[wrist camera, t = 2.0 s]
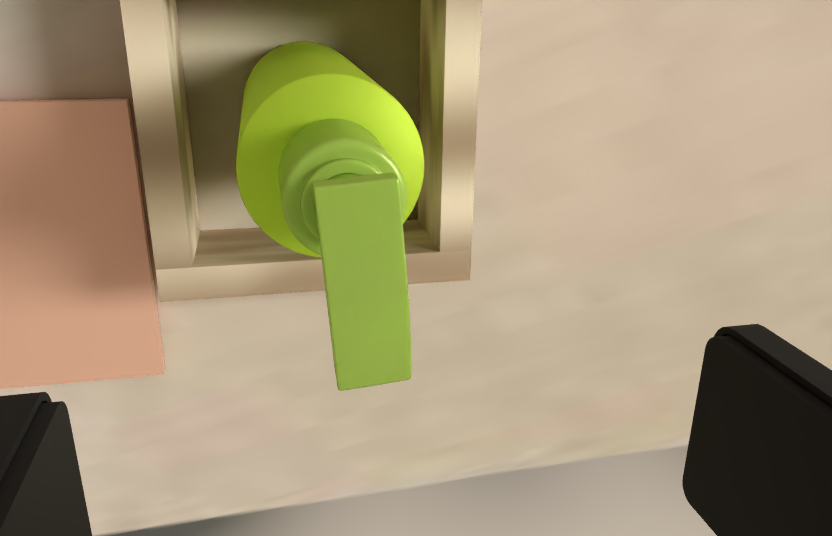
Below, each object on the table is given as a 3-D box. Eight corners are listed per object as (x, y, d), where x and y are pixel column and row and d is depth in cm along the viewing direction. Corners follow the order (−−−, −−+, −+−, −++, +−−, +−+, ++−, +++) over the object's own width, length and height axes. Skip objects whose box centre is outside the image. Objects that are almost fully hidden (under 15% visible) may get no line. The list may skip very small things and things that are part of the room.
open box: (134, -46, 30) (112, -51, 26) (452, -39, 33) (483, -43, 28) (172, 261, 35) (159, 301, 31) (444, 244, 38) (470, 279, 34)
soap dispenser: (256, 192, 35) (256, 416, 17) (233, 46, 32) (205, 126, 14) (373, 179, 36) (493, 376, 18) (360, 36, 33) (486, 98, 15)
